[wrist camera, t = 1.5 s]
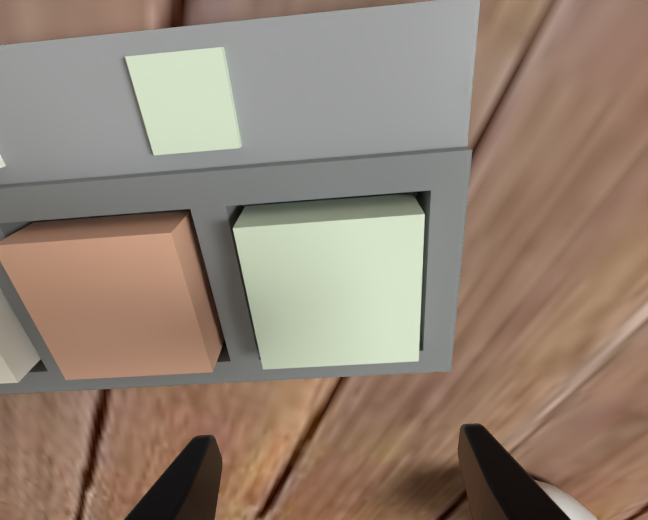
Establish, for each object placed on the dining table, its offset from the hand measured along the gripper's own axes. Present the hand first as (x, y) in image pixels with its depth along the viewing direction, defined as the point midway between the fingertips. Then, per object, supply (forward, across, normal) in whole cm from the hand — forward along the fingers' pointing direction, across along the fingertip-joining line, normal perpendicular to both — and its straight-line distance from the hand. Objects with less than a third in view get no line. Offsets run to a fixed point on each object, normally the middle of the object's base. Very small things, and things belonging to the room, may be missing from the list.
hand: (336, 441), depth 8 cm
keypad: (+10, +8, -2) cm, 13 cm away
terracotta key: (+8, +8, 0) cm, 11 cm away
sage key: (+7, 0, 0) cm, 7 cm away
